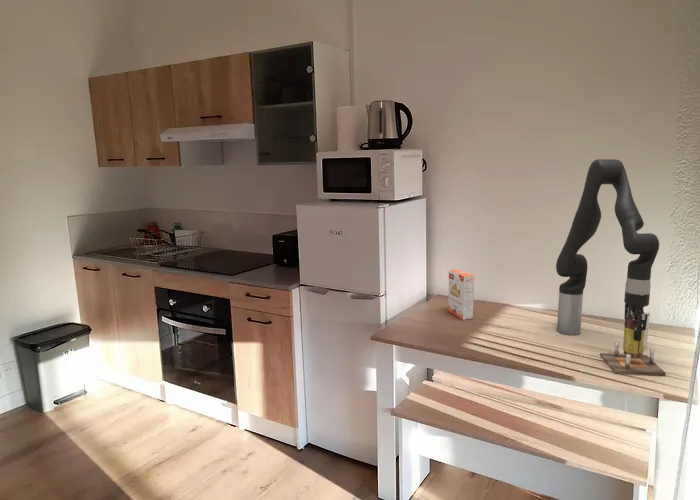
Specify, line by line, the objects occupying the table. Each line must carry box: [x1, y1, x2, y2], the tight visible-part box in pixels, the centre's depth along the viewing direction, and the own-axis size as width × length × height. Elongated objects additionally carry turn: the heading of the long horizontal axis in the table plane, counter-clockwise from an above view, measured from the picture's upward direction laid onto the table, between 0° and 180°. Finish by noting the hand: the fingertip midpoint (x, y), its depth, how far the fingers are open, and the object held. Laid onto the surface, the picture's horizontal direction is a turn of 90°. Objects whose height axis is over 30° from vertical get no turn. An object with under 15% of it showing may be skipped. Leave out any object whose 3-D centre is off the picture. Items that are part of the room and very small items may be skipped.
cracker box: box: [447, 269, 475, 321], centre depth 241 cm, size 14×6×21 cm, turn 17°
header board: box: [599, 352, 667, 377], centre depth 182 cm, size 16×16×1 cm
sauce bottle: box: [622, 305, 645, 358], centre depth 180 cm, size 7×6×20 cm
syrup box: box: [643, 310, 651, 349], centre depth 199 cm, size 6×6×14 cm
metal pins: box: [613, 342, 656, 369], centre depth 182 cm, size 13×11×5 cm
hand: (633, 337), depth 181 cm, fingers closed on sauce bottle, 6 cm apart
